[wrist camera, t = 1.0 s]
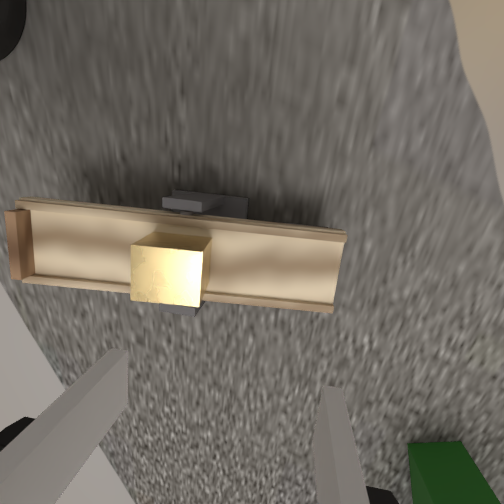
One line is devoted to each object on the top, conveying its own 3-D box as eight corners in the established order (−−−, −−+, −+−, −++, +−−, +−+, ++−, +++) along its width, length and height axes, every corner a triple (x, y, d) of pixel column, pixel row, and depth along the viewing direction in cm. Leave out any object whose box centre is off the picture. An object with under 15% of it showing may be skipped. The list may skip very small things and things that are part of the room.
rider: (153, 231, 31) (130, 244, 25) (212, 237, 31) (202, 252, 25) (152, 277, 32) (130, 300, 26) (209, 283, 32) (199, 307, 26)
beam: (55, 191, 35) (2, 196, 28) (332, 221, 36) (352, 233, 29) (59, 269, 38) (12, 292, 30) (319, 295, 38) (335, 323, 31)
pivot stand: (176, 189, 41) (133, 193, 30) (248, 198, 40) (232, 205, 29) (172, 274, 44) (132, 306, 33) (240, 284, 43) (222, 321, 32)
